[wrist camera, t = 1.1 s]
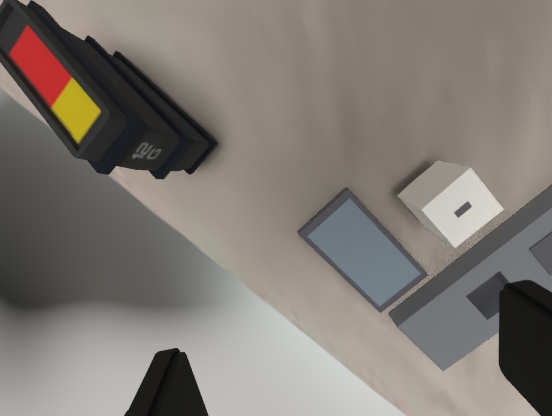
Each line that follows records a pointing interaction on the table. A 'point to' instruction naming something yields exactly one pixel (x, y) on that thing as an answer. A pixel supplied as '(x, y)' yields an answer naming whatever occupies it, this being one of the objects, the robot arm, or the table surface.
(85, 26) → the table surface
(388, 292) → the phone
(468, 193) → the charger plug
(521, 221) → the power strip
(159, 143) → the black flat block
